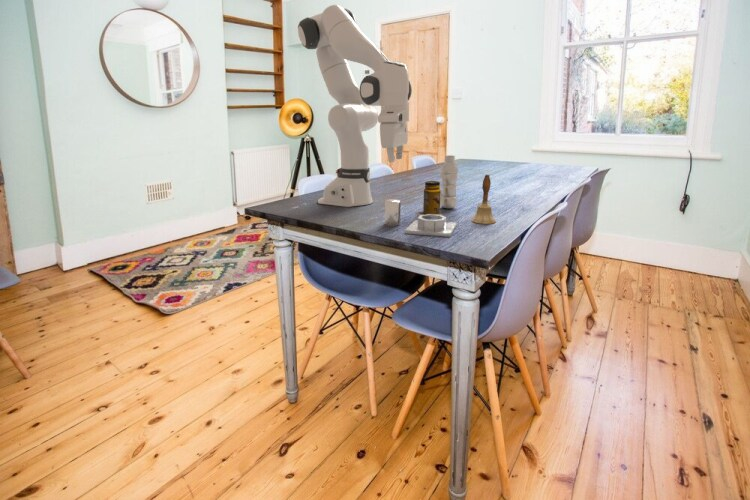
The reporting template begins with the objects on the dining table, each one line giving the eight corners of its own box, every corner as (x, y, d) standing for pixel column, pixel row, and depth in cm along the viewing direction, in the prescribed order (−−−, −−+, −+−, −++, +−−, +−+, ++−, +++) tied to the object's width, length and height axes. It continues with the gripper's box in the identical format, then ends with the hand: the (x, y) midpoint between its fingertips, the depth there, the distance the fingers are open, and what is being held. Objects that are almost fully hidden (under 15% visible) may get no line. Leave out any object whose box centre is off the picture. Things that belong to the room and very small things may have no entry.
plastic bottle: (456, 210, 173) (459, 157, 167) (438, 209, 175) (440, 156, 169) (456, 206, 179) (459, 155, 173) (439, 206, 181) (441, 154, 175)
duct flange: (405, 233, 143) (405, 220, 142) (415, 222, 155) (415, 211, 154) (450, 236, 139) (450, 224, 137) (456, 225, 151) (457, 214, 150)
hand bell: (478, 217, 163) (481, 172, 158) (499, 220, 158) (503, 174, 153) (466, 221, 157) (469, 175, 152) (489, 225, 152) (492, 177, 147)
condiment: (443, 216, 165) (444, 182, 162) (421, 217, 163) (422, 183, 160) (436, 211, 172) (437, 179, 168) (414, 212, 170) (415, 180, 166)
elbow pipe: (382, 225, 152) (383, 201, 150) (387, 221, 157) (387, 198, 154) (397, 226, 151) (398, 202, 148) (401, 223, 155) (401, 199, 153)
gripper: (393, 115, 155) (394, 157, 159) (376, 116, 136) (377, 163, 140) (412, 115, 153) (412, 157, 157) (396, 116, 134) (397, 164, 138)
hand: (395, 160), depth 148 cm, fingers open, 8 cm apart
